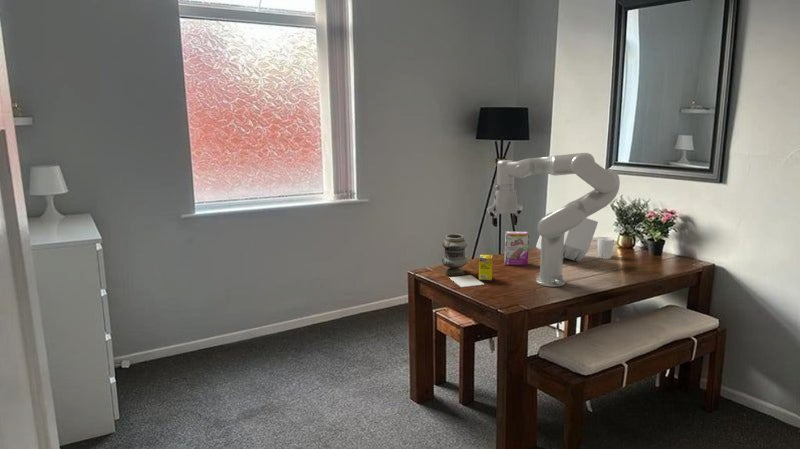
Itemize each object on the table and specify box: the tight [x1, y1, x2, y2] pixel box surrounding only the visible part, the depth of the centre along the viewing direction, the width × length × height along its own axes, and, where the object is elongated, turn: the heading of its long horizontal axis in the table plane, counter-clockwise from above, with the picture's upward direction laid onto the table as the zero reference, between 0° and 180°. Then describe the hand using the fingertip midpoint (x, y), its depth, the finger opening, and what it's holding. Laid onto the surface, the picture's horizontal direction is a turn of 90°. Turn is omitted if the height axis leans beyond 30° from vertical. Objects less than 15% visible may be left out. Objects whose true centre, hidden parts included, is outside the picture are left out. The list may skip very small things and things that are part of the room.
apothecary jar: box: [441, 233, 468, 276], centre depth 255 cm, size 12×12×18 cm
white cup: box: [596, 236, 615, 260], centre depth 278 cm, size 8×8×10 cm
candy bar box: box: [504, 231, 530, 267], centre depth 267 cm, size 11×5×16 cm, turn 84°
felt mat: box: [449, 274, 485, 288], centre depth 243 cm, size 14×11×1 cm
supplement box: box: [478, 254, 494, 282], centre depth 245 cm, size 6×6×11 cm
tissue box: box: [535, 217, 599, 263], centre depth 273 cm, size 20×16×25 cm
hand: (504, 225), depth 244 cm, fingers open, 9 cm apart
